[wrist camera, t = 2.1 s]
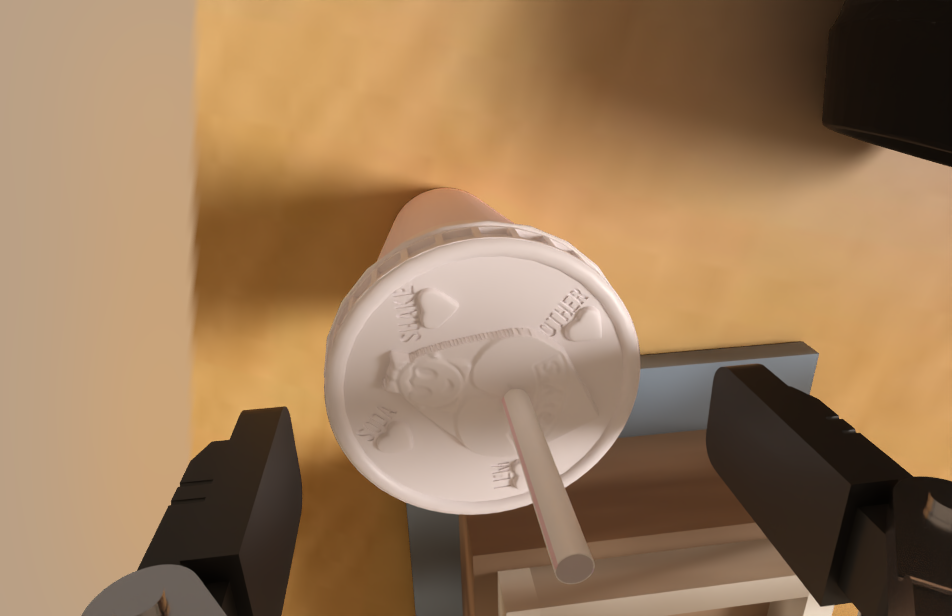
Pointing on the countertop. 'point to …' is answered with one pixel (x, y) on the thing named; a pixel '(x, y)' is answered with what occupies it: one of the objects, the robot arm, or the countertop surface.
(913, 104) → the portable speaker
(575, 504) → the pedestal base
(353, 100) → the countertop surface
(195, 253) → the countertop surface
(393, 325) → the smoothie
